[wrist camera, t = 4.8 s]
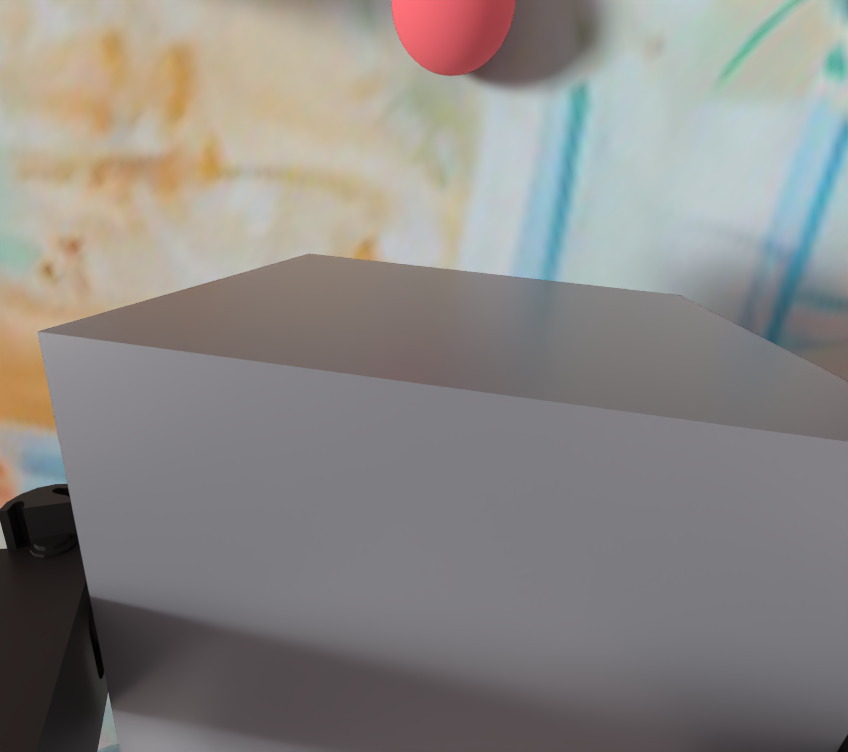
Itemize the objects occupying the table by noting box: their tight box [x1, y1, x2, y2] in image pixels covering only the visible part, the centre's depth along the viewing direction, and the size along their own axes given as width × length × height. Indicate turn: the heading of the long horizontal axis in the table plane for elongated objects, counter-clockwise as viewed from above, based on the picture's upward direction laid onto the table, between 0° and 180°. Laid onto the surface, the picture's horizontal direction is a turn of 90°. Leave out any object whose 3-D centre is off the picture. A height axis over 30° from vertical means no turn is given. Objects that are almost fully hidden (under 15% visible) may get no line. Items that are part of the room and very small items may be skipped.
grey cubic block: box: [38, 254, 848, 752], centre depth 11 cm, size 10×10×9 cm
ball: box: [392, 0, 516, 76], centre depth 20 cm, size 5×5×5 cm
